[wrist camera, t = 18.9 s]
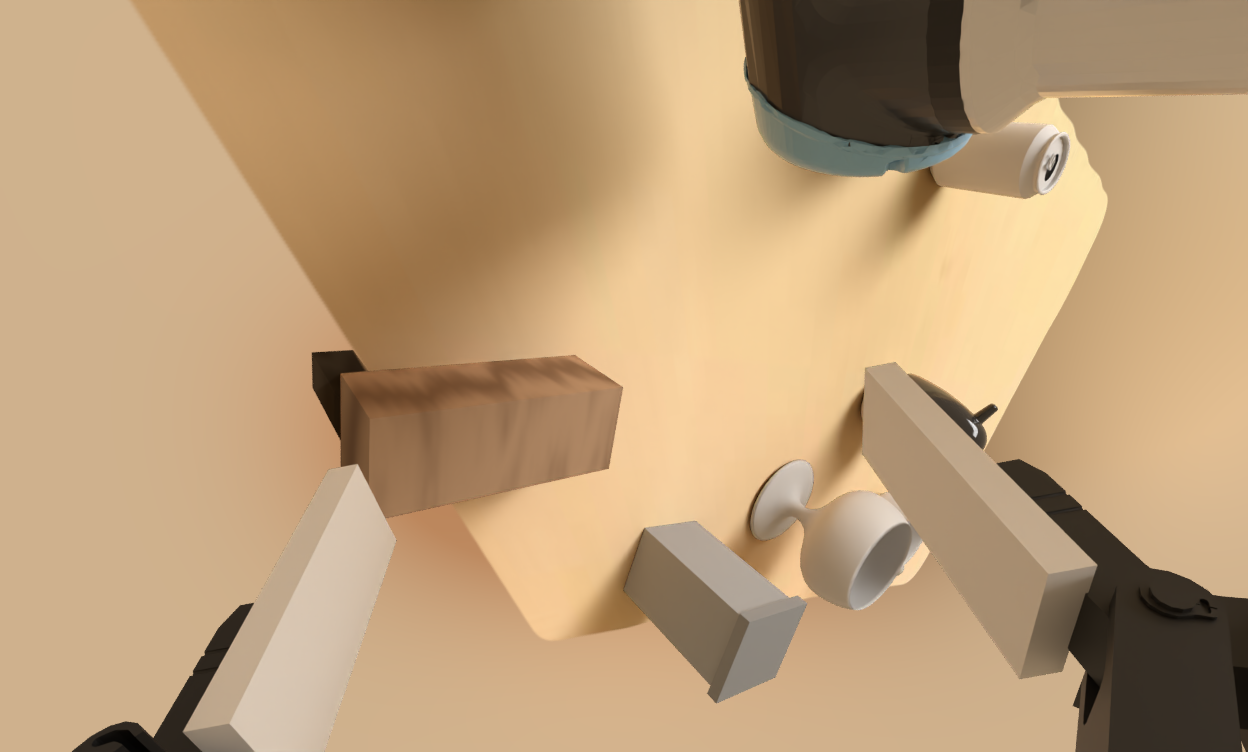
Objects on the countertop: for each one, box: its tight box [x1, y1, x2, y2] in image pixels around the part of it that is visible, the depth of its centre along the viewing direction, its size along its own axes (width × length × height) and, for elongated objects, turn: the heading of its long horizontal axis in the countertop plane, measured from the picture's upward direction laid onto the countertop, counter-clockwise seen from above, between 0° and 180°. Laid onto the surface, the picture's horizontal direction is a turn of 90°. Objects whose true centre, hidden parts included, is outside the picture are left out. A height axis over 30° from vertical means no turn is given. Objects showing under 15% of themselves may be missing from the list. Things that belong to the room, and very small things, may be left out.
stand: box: [623, 521, 807, 703], centre depth 62 cm, size 9×9×16 cm
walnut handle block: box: [312, 350, 623, 518], centre depth 46 cm, size 16×7×18 cm
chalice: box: [750, 460, 912, 610], centre depth 73 cm, size 14×14×15 cm
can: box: [930, 122, 1070, 199], centre depth 66 cm, size 8×8×12 cm
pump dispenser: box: [861, 374, 998, 450], centre depth 78 cm, size 10×10×15 cm
